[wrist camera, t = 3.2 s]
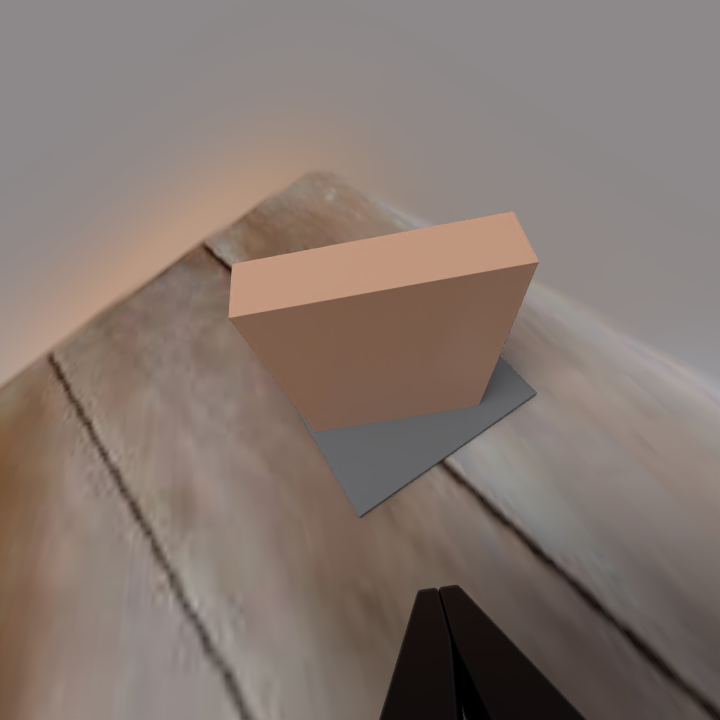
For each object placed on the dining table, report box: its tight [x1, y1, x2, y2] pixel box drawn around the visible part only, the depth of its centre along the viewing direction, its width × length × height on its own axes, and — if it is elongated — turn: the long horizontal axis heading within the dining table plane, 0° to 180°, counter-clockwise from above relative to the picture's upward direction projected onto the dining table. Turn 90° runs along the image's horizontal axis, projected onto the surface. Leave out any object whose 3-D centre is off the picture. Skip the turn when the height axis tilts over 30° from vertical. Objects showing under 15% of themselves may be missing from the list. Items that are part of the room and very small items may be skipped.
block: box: [229, 211, 539, 432], centre depth 17 cm, size 2×10×12 cm, turn 97°
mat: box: [295, 356, 536, 518], centre depth 24 cm, size 15×13×1 cm
